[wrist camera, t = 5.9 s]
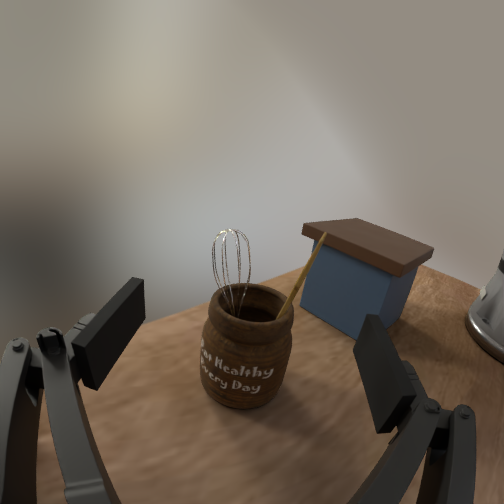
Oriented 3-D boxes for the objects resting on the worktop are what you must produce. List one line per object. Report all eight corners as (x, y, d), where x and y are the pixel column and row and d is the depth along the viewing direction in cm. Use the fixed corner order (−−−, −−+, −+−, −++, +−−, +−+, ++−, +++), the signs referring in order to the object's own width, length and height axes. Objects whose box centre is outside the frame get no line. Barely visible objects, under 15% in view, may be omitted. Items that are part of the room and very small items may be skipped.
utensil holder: (221, 346, 23) (237, 202, 19) (293, 372, 22) (331, 224, 17) (183, 390, 18) (187, 219, 14) (268, 425, 16) (315, 252, 12)
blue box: (409, 318, 31) (434, 247, 28) (369, 355, 24) (404, 264, 21) (340, 282, 39) (356, 218, 35) (286, 303, 32) (303, 222, 28)
